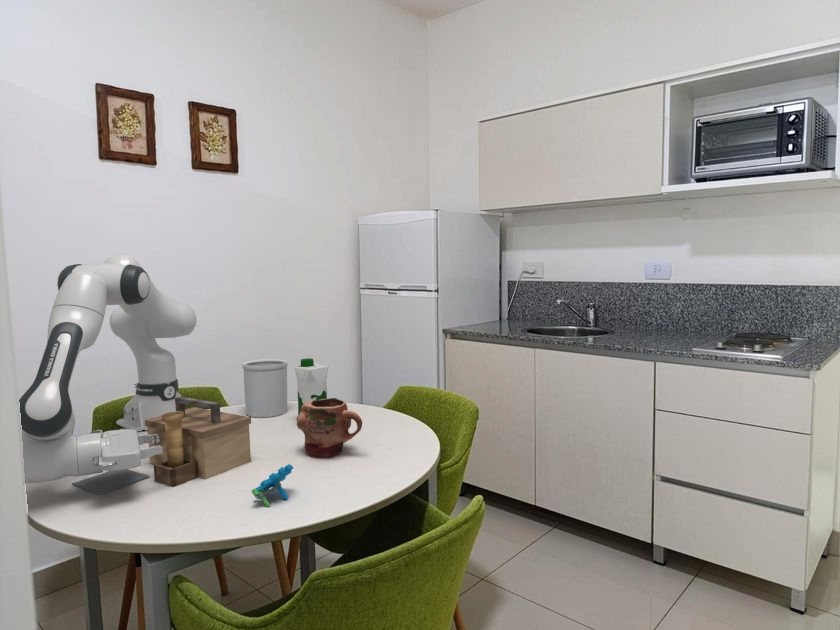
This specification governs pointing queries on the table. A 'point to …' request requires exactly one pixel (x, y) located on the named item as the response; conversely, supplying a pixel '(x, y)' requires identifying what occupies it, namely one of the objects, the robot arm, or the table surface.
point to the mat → (110, 481)
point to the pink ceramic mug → (326, 426)
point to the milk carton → (310, 382)
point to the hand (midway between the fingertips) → (160, 443)
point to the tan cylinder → (174, 438)
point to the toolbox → (202, 442)
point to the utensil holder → (265, 387)
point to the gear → (272, 484)
